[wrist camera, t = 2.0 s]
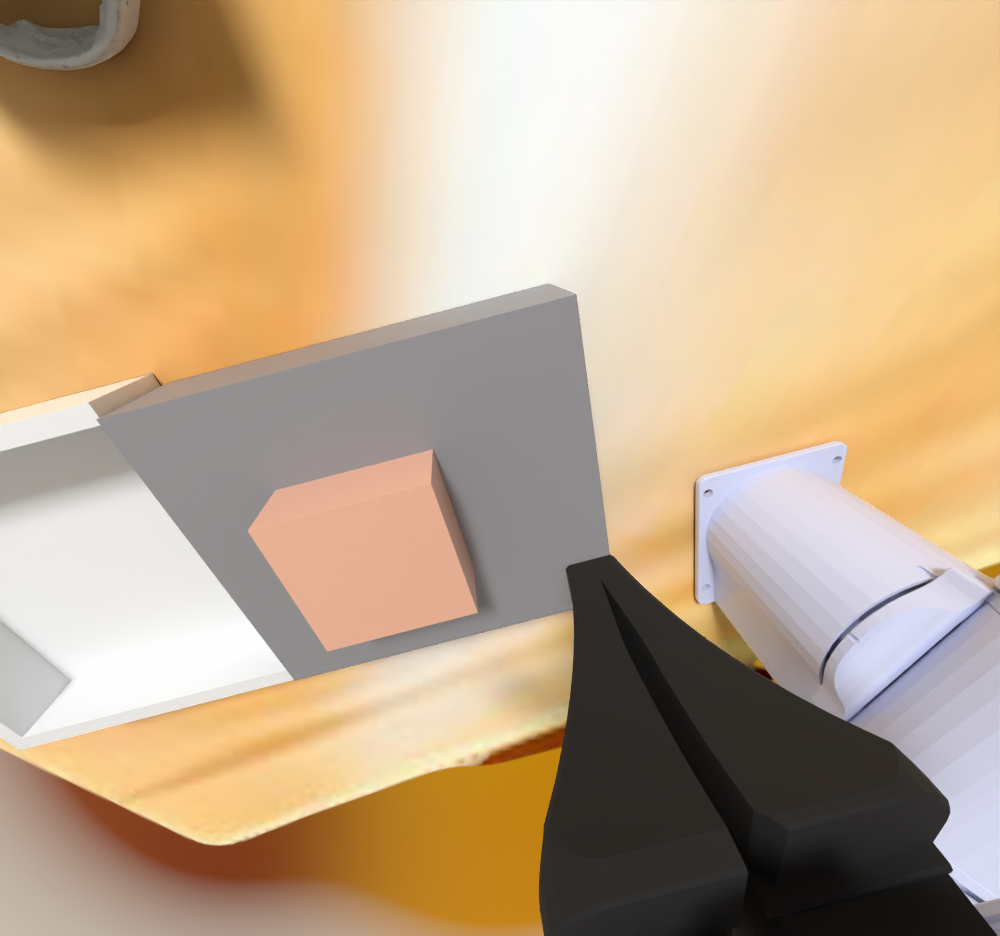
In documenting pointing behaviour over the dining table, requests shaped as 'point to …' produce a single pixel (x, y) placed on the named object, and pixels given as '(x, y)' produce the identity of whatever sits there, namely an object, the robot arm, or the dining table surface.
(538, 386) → the board
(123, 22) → the ceramic mug
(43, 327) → the dining table surface
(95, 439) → the bin
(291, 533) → the terracotta tile
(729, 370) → the dining table surface
